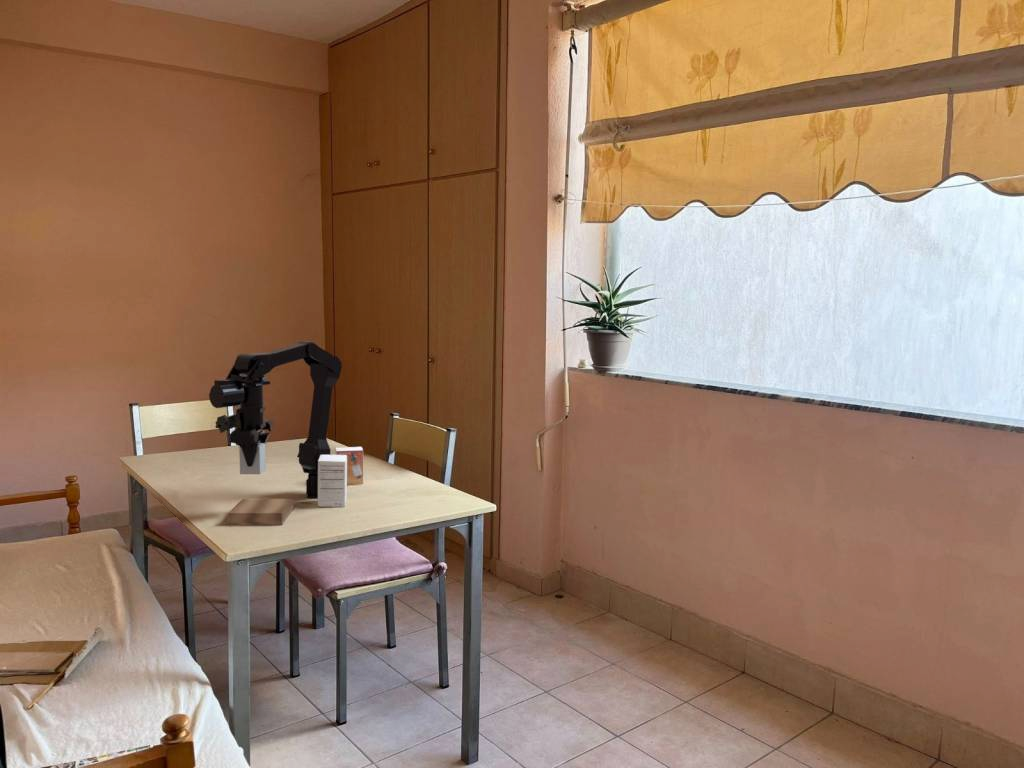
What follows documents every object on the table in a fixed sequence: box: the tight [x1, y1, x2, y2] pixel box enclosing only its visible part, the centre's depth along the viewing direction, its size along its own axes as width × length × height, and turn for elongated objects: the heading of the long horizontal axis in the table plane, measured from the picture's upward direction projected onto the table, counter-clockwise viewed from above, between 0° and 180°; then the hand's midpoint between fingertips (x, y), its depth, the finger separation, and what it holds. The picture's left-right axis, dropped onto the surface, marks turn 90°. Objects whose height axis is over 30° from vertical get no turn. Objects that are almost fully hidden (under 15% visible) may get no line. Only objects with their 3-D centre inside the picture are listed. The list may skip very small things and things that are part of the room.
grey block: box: [238, 443, 267, 475], centre depth 201 cm, size 5×5×7 cm
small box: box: [334, 446, 364, 486], centre depth 235 cm, size 8×6×10 cm
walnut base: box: [227, 498, 294, 526], centre depth 199 cm, size 13×13×3 cm
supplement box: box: [317, 454, 348, 508], centre depth 212 cm, size 7×7×13 cm
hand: (252, 464), depth 201 cm, fingers closed on grey block, 5 cm apart
